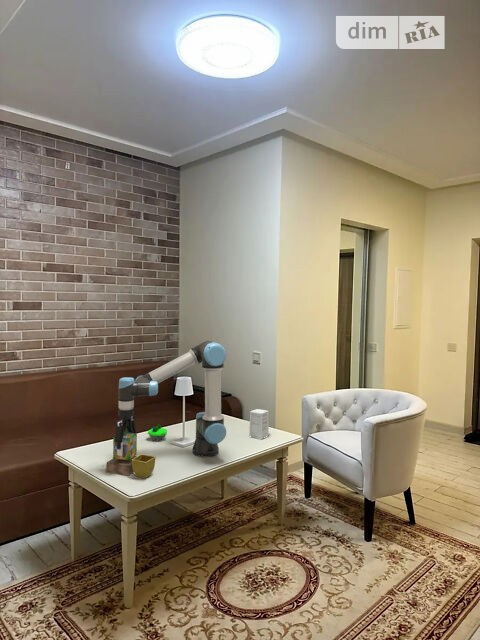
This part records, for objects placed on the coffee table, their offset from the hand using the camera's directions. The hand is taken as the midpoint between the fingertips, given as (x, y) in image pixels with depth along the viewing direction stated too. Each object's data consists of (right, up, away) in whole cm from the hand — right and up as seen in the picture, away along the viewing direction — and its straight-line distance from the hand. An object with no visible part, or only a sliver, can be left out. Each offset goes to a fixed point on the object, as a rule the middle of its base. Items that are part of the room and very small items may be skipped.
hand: (125, 451), depth 225 cm
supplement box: (+71, -9, +61) cm, 94 cm away
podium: (0, -9, 0) cm, 9 cm away
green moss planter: (+7, -7, +49) cm, 50 cm away
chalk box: (0, -3, 0) cm, 3 cm away
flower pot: (+11, -10, -7) cm, 16 cm away
